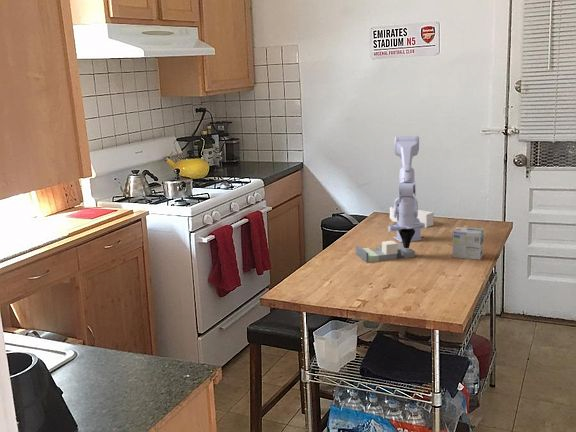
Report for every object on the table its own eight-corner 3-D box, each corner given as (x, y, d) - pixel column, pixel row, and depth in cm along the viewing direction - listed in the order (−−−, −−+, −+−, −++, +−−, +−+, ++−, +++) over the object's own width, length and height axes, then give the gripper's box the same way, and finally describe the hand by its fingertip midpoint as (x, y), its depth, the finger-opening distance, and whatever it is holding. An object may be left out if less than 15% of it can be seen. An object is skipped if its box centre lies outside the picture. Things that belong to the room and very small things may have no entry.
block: (392, 250, 258) (392, 240, 257) (397, 253, 254) (397, 243, 253) (381, 251, 257) (381, 241, 256) (386, 254, 253) (386, 244, 252)
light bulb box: (483, 255, 256) (484, 228, 253) (480, 260, 250) (481, 232, 247) (455, 252, 260) (456, 226, 258) (451, 257, 254) (452, 230, 252)
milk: (426, 214, 296) (385, 207, 311) (426, 227, 298) (385, 220, 312) (434, 212, 300) (393, 205, 315) (433, 225, 302) (393, 217, 317)
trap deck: (402, 249, 267) (402, 240, 266) (414, 256, 256) (414, 247, 256) (356, 254, 262) (355, 245, 261) (366, 262, 252) (366, 253, 251)
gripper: (393, 217, 249) (393, 252, 252) (428, 214, 252) (428, 248, 256) (385, 213, 256) (385, 247, 259) (420, 210, 259) (419, 243, 262)
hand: (406, 247), depth 258 cm, fingers closed
